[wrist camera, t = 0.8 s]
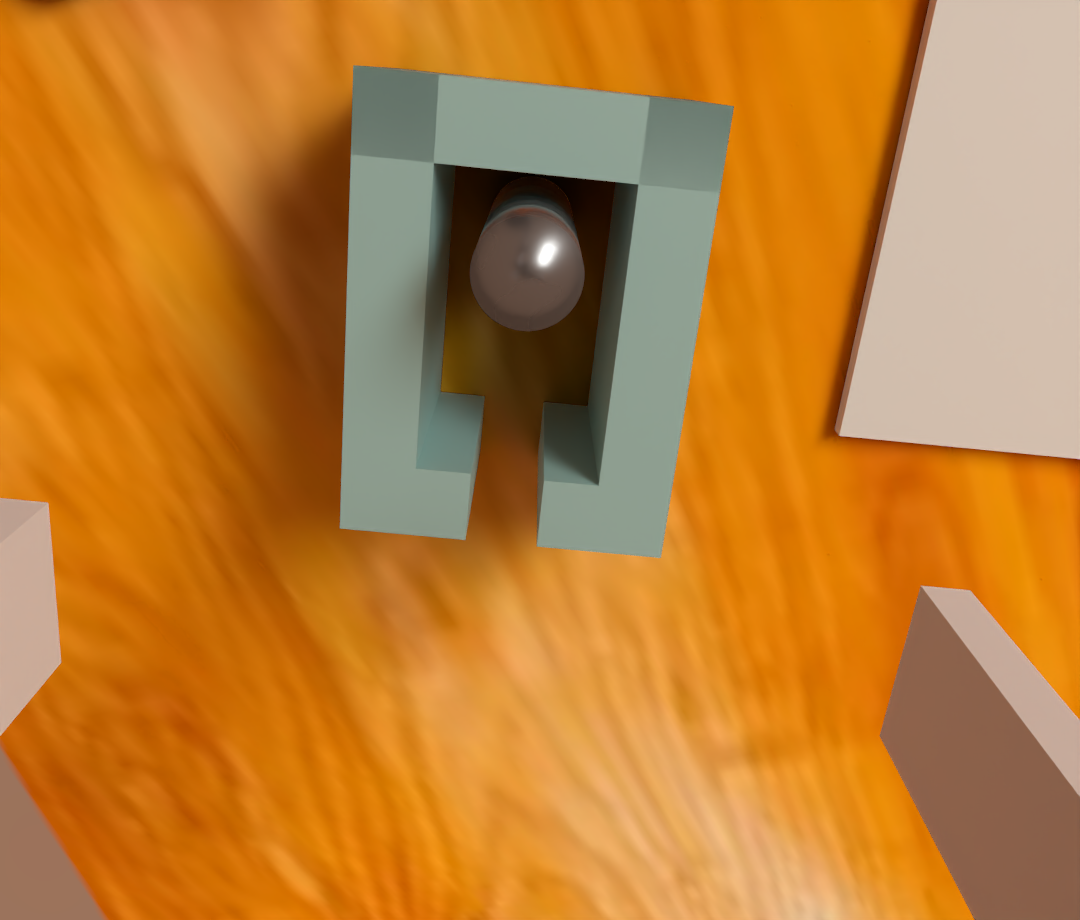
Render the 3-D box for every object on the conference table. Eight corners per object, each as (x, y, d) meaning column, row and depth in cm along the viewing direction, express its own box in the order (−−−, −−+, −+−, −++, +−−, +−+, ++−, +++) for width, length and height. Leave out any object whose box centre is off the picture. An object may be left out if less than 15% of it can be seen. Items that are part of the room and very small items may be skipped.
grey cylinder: (494, 172, 31) (473, 210, 22) (577, 180, 31) (590, 222, 22) (487, 255, 32) (465, 325, 23) (567, 264, 32) (577, 336, 23)
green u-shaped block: (395, 68, 30) (353, 65, 23) (691, 100, 30) (733, 106, 23) (378, 441, 34) (339, 528, 27) (638, 466, 34) (660, 557, 28)
